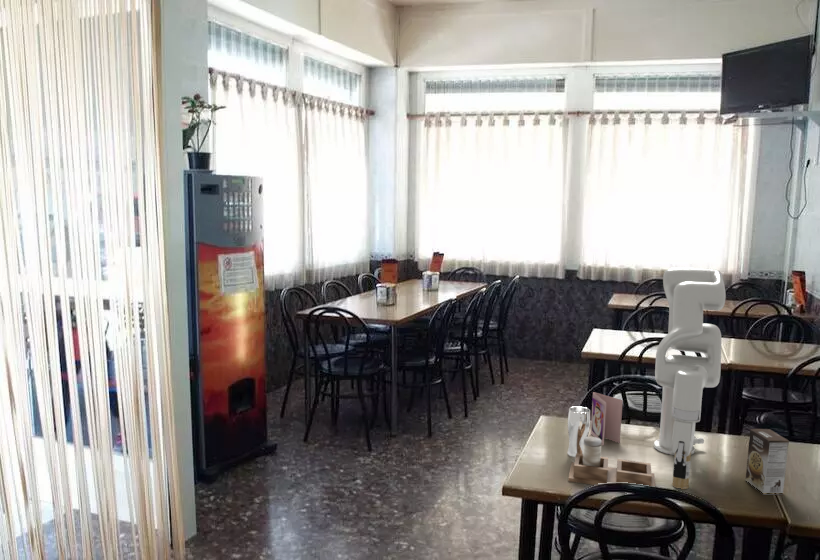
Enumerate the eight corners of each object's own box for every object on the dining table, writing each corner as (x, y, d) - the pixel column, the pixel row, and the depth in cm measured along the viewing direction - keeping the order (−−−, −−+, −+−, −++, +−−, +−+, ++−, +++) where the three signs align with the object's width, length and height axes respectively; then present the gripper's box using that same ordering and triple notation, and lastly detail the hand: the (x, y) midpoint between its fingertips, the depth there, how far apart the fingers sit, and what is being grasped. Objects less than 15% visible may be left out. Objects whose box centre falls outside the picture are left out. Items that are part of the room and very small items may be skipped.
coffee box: (744, 480, 198) (748, 428, 196) (764, 480, 199) (769, 428, 196) (762, 495, 189) (768, 440, 187) (784, 494, 190) (790, 439, 187)
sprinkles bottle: (680, 482, 196) (684, 438, 194) (692, 488, 192) (696, 443, 190) (668, 484, 195) (671, 439, 193) (679, 491, 190) (683, 445, 189)
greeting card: (588, 433, 234) (590, 391, 232) (608, 433, 234) (611, 391, 232) (600, 446, 222) (603, 402, 220) (622, 445, 223) (625, 402, 221)
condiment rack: (654, 476, 200) (656, 440, 198) (655, 494, 188) (658, 456, 187) (571, 465, 207) (573, 430, 205) (568, 481, 195) (570, 444, 194)
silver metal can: (586, 450, 218) (589, 406, 216) (590, 459, 211) (592, 413, 209) (564, 449, 219) (567, 405, 217) (567, 458, 212) (570, 412, 210)
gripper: (676, 402, 200) (672, 459, 202) (667, 419, 185) (662, 480, 187) (704, 407, 196) (699, 464, 198) (696, 425, 181) (691, 486, 183)
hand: (681, 471), depth 193 cm, fingers open, 7 cm apart
